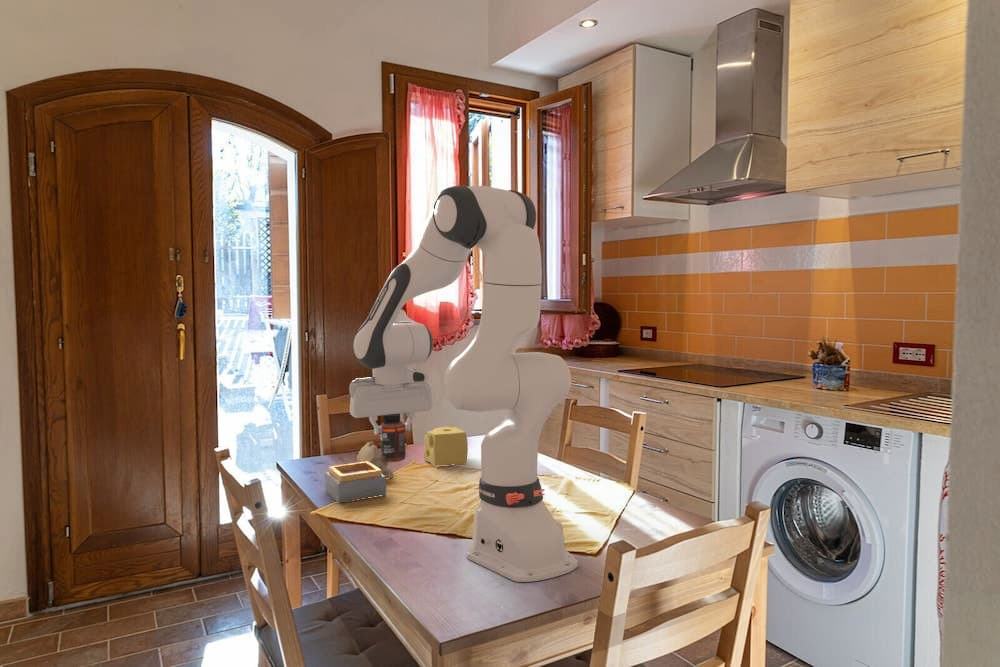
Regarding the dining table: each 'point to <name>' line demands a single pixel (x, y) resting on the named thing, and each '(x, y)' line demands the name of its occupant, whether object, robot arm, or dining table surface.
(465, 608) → the dining table surface
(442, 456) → the cheese
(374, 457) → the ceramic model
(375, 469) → the grey wooden-rimmed box
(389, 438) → the supplement bottle
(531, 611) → the dining table surface
